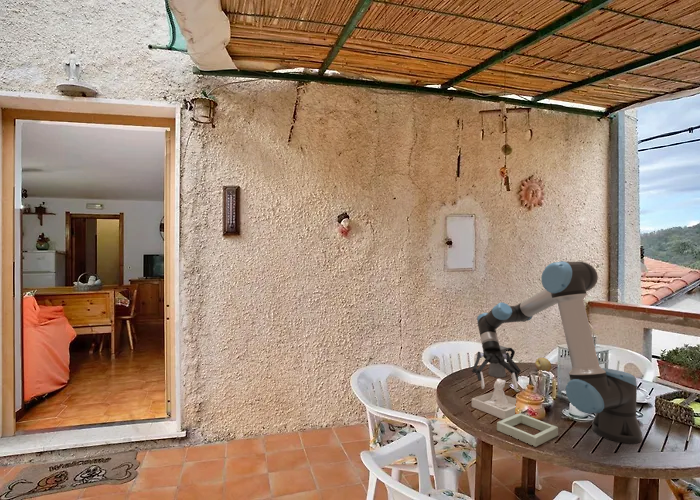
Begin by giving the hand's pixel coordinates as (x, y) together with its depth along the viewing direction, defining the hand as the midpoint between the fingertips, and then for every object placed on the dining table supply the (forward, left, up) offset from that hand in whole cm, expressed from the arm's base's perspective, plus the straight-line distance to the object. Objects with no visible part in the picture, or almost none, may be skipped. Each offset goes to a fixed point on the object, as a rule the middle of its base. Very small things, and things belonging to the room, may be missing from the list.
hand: (499, 388), depth 165 cm
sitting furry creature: (+1, 0, -8) cm, 8 cm away
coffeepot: (+28, -41, -9) cm, 50 cm away
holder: (-18, +10, -9) cm, 23 cm away
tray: (+1, -1, -9) cm, 9 cm away
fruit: (+18, -67, -9) cm, 70 cm away
